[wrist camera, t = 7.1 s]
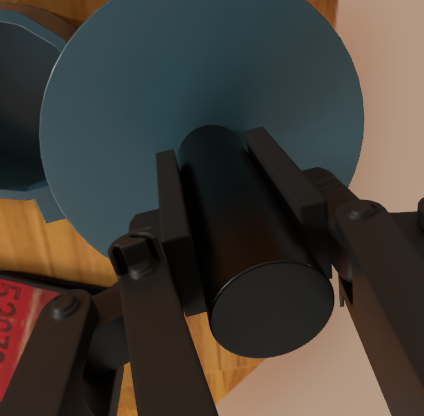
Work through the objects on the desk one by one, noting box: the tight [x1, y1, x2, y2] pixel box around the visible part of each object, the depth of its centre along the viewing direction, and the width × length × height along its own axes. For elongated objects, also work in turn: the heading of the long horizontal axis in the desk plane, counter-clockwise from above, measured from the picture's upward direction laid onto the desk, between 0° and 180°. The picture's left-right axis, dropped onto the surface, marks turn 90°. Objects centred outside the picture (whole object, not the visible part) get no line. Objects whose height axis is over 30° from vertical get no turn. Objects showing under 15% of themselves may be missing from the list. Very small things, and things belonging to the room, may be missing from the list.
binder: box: [0, 271, 108, 403], centre depth 47 cm, size 16×2×21 cm
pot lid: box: [39, 0, 364, 358], centre depth 14 cm, size 15×15×11 cm
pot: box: [0, 2, 78, 223], centre depth 31 cm, size 14×19×8 cm
